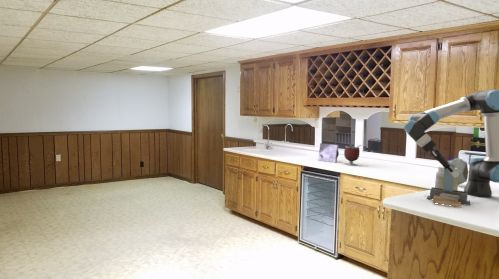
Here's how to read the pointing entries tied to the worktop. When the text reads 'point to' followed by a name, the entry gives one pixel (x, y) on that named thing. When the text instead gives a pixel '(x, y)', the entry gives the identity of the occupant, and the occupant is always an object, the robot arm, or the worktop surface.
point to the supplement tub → (441, 176)
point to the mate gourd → (351, 154)
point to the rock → (461, 169)
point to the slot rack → (439, 191)
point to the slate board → (448, 179)
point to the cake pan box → (328, 153)
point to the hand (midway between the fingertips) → (456, 176)
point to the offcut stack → (447, 199)
